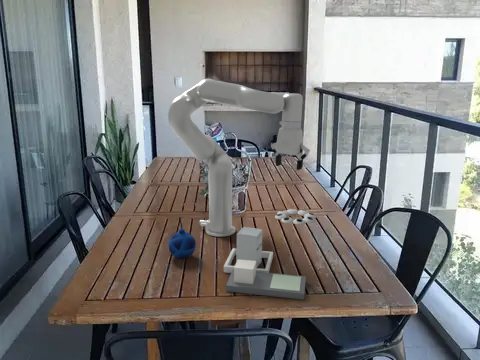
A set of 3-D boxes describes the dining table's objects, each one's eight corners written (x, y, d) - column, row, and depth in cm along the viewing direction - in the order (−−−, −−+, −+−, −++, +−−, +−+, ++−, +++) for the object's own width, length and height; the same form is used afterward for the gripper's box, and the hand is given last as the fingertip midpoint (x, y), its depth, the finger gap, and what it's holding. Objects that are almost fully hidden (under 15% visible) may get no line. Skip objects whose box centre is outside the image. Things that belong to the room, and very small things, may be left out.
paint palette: (302, 228, 184) (302, 224, 184) (266, 218, 196) (266, 214, 196) (324, 217, 198) (325, 213, 198) (290, 208, 211) (290, 204, 210)
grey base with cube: (225, 291, 131) (226, 270, 130) (233, 274, 142) (233, 255, 140) (304, 299, 127) (305, 278, 125) (305, 281, 138) (306, 262, 136)
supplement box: (255, 271, 145) (256, 236, 141) (235, 267, 147) (235, 233, 144) (262, 262, 151) (263, 228, 148) (242, 258, 154) (243, 226, 151)
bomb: (189, 248, 162) (188, 211, 158) (200, 260, 152) (199, 221, 148) (164, 253, 157) (163, 215, 153) (173, 265, 148) (172, 225, 144)
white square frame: (223, 272, 144) (223, 266, 143) (232, 253, 158) (232, 248, 157) (267, 276, 141) (267, 270, 140) (272, 257, 155) (272, 251, 154)
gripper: (267, 123, 170) (265, 165, 174) (306, 128, 160) (303, 172, 164) (277, 122, 176) (275, 162, 180) (315, 126, 166) (312, 169, 170)
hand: (288, 167), depth 172 cm, fingers open, 9 cm apart
